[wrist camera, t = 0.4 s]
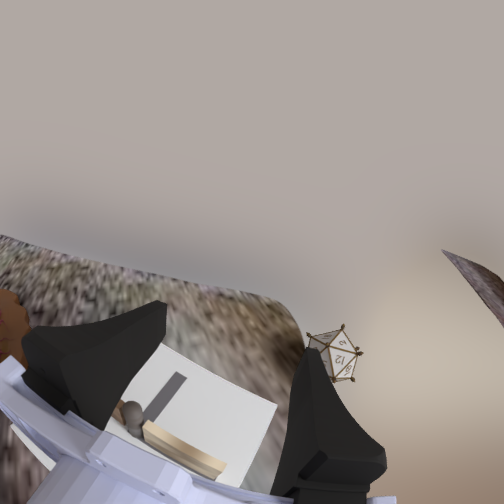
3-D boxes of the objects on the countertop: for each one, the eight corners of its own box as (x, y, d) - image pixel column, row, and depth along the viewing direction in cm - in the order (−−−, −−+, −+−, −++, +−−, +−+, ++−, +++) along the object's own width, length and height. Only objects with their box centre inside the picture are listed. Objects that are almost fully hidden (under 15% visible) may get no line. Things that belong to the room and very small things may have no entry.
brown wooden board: (129, 420, 23) (125, 402, 20) (124, 426, 22) (118, 409, 19) (77, 377, 24) (67, 353, 22) (71, 382, 24) (61, 359, 21)
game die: (304, 375, 40) (326, 316, 41) (352, 395, 35) (377, 332, 36) (277, 382, 33) (304, 310, 34) (335, 409, 28) (367, 331, 29)
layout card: (193, 563, 11) (193, 563, 11) (11, 426, 15) (9, 425, 15) (276, 405, 30) (277, 404, 30) (125, 320, 35) (125, 318, 34)
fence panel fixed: (125, 431, 22) (118, 410, 18) (134, 420, 23) (129, 397, 20) (211, 482, 20) (223, 473, 17) (219, 469, 21) (232, 457, 18)
